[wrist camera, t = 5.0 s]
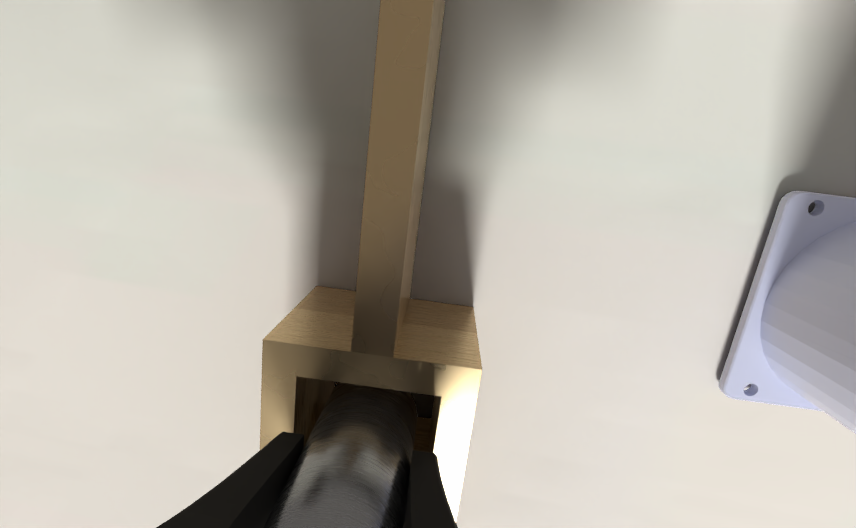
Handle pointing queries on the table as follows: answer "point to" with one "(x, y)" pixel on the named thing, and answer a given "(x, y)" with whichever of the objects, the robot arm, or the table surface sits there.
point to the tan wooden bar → (385, 277)
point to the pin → (352, 463)
